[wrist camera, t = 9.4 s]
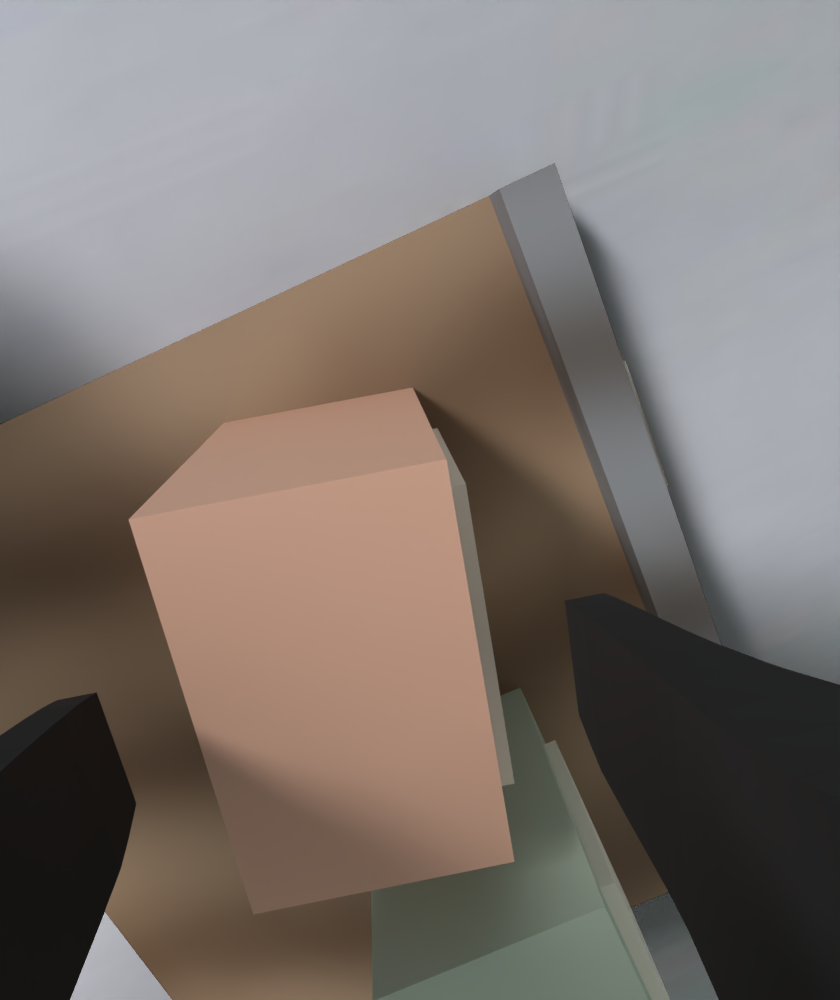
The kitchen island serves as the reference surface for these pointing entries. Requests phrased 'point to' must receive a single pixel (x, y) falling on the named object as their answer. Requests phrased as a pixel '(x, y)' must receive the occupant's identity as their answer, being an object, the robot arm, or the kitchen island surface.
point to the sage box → (519, 904)
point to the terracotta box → (334, 648)
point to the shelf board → (495, 518)
